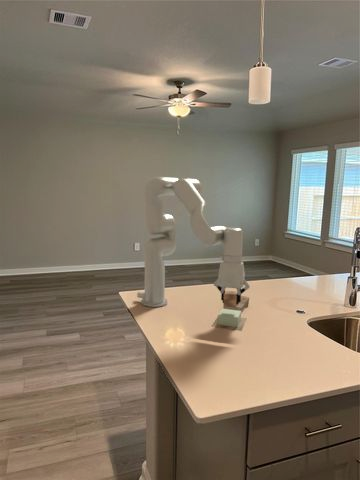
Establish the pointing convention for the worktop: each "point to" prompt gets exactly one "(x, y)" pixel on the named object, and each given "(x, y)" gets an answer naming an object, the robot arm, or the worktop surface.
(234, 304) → the cherry block
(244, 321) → the baseplate
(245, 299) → the brick
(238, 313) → the base block
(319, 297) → the worktop surface
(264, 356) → the worktop surface
